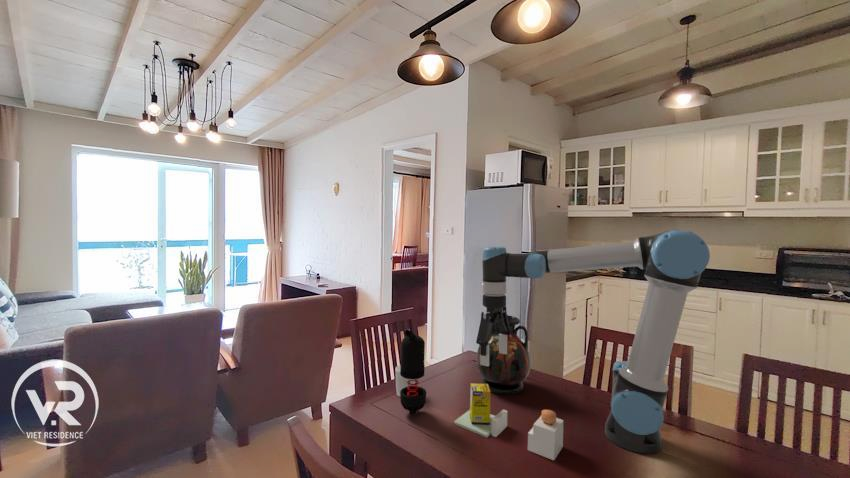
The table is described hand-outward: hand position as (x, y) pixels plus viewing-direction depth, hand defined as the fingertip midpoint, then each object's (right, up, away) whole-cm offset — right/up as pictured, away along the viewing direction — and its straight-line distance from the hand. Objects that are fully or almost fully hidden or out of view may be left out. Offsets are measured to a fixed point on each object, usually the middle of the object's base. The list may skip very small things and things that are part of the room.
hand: (494, 359), depth 116 cm
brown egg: (+13, -18, -13) cm, 25 cm away
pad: (-5, -21, 0) cm, 22 cm away
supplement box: (-5, -20, +1) cm, 21 cm away
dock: (+8, -21, -9) cm, 25 cm away
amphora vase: (+9, -21, +28) cm, 36 cm away
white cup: (-30, -20, +20) cm, 42 cm away
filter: (-26, -21, +7) cm, 34 cm away
